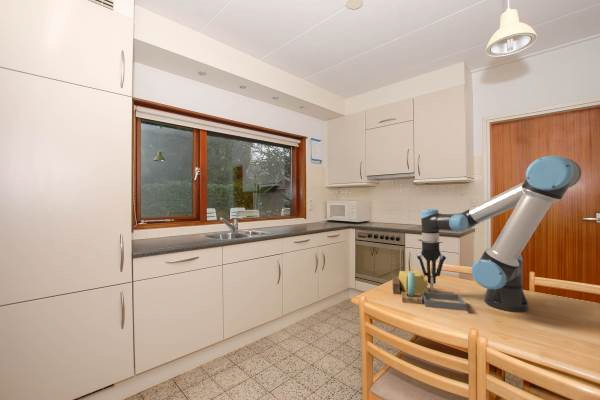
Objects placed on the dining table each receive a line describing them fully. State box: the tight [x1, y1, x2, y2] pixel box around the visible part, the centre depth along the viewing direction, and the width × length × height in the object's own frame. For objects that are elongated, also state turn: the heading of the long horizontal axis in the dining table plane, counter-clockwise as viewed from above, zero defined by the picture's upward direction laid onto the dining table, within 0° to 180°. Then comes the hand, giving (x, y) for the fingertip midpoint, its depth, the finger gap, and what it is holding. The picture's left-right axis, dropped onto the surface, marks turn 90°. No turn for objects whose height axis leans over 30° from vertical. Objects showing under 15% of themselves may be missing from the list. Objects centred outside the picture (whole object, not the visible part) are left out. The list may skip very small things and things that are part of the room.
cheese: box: [398, 270, 429, 296], centre depth 133 cm, size 10×11×10 cm
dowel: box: [408, 272, 415, 297], centre depth 122 cm, size 3×3×12 cm
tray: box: [421, 291, 467, 311], centre depth 117 cm, size 15×11×4 cm
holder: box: [400, 291, 423, 305], centre depth 122 cm, size 8×8×3 cm
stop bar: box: [391, 276, 401, 295], centre depth 135 cm, size 3×12×6 cm, turn 163°
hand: (431, 290), depth 131 cm, fingers closed
